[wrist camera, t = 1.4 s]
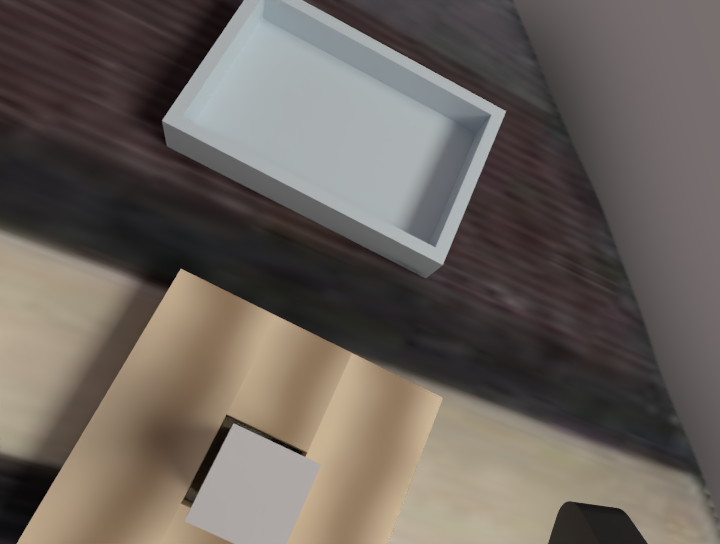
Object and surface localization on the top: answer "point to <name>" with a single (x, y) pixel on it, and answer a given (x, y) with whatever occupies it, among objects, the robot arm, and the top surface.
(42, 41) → the top surface
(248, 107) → the parts tray
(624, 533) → the robot arm
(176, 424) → the wooden board with hole
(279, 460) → the block
